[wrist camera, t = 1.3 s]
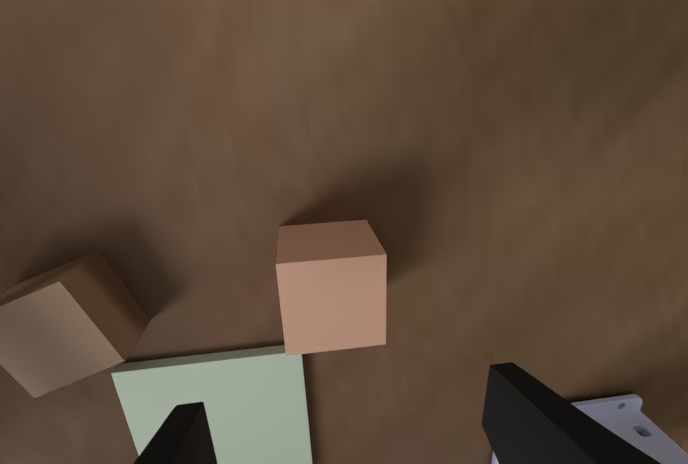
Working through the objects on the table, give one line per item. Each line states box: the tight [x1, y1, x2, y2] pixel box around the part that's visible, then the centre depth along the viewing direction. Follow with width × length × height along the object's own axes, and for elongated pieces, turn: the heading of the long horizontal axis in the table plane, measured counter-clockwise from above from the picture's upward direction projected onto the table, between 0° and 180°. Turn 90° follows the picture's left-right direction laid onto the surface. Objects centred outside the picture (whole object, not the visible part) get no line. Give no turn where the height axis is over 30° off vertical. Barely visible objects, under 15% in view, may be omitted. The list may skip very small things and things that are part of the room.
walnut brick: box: [0, 250, 150, 398], centre depth 15 cm, size 4×4×3 cm
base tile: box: [111, 345, 313, 464], centre depth 20 cm, size 9×9×1 cm
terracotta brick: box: [276, 220, 387, 356], centre depth 16 cm, size 4×4×4 cm
